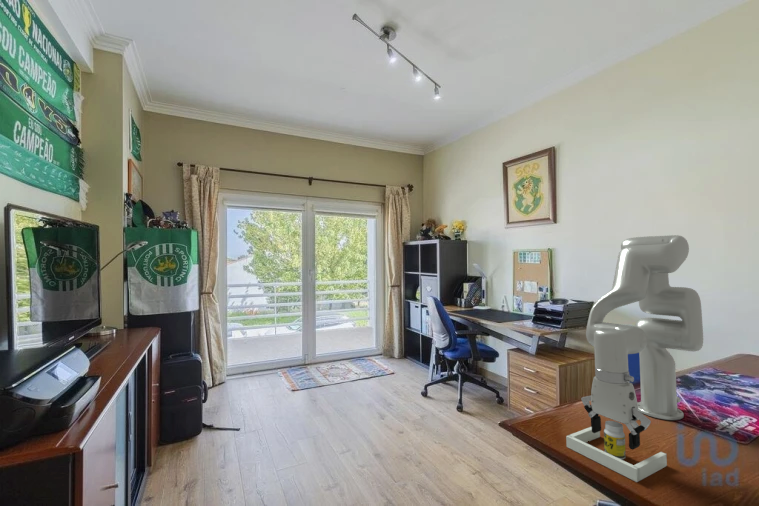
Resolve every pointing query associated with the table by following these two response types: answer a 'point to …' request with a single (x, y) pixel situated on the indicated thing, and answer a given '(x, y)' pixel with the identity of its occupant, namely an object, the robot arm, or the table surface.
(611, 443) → the supplement bottle
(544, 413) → the table surface
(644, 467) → the frame
